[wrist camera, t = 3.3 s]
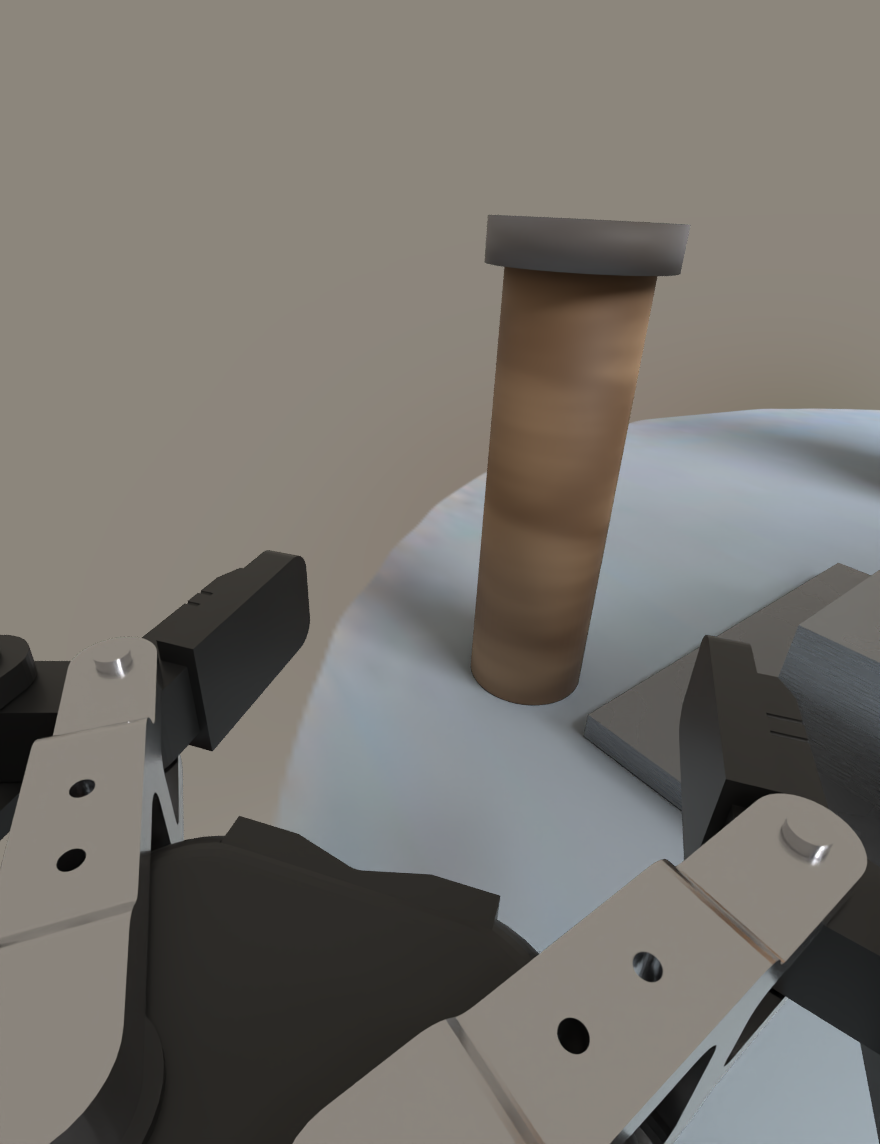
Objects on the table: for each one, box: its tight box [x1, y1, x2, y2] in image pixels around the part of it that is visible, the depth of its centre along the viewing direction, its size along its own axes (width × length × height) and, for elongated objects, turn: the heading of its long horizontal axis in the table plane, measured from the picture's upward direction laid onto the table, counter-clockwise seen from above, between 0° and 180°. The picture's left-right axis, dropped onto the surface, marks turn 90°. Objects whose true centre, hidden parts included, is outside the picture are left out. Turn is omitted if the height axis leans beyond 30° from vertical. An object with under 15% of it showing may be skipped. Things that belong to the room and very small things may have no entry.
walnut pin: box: [471, 215, 690, 705], centre depth 22 cm, size 6×6×16 cm
